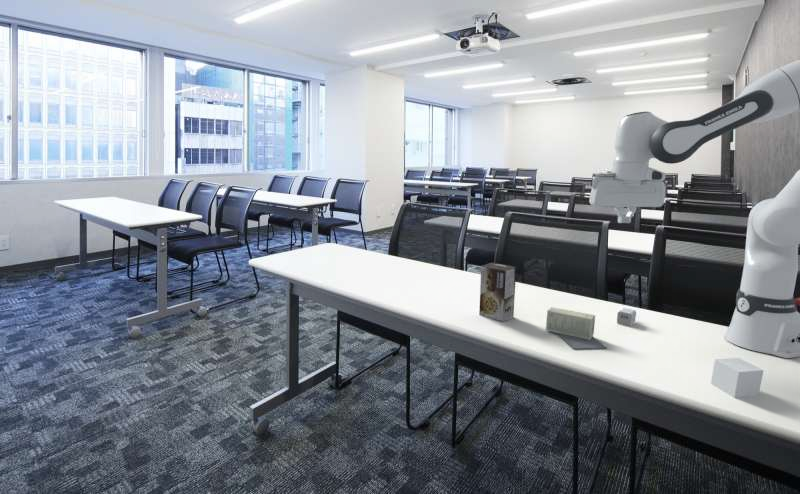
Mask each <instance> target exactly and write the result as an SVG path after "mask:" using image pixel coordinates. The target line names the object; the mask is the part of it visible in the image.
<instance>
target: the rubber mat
mask: <svg viewBox="0 0 800 494" xmlns="http://www.w3.org/2000/svg"><path fill="white" fill-rule="evenodd" d="M555 334H556V335H558V337H560V338H561V340H563V342H565V343H566V344H567V345H568V346H569V347H570V348H571V349H572V350H576V351H577V350H578V351H579V350H606V349H608V347H607V346H606V345H604V344H603V343H602V342H601V341H600V340H598V339H597V338H595V337H594V336H593V337H592V338H591V339H590V340H587V339H583V338H578V337H573V336H569V335H564V334H559V333H555Z"/></svg>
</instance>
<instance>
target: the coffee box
mask: <svg viewBox="0 0 800 494" xmlns="http://www.w3.org/2000/svg"><path fill="white" fill-rule="evenodd" d="M516 278H517V266H512V265H508V264H501V263H496V262H490V263H486V264H483V265H481V266H480V284H479V285H480V288H479V289H480V290H479V311H478V313H479V314H478V315H480V316H483V317H486V318H490V319H493V320H498V321H501V322H505V321H508V320H510V319H512V318H514V313H515V312H514V311H515V297H516V296H515V294H516Z"/></svg>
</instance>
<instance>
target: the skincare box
mask: <svg viewBox="0 0 800 494" xmlns="http://www.w3.org/2000/svg"><path fill="white" fill-rule="evenodd" d="M546 313H547V315H546V323H545V324H546V325H545V332H551V333H555V334H556V333H559V334H564V335H569V336H573V337H578V338H583V339H587V340H590V339H591V338H592V337H594V334H595V326H596V325H595V324H596V315H595V314H590V313H585V312H580V311H574V310H569V309H564V308H560V307H559V308H558V307H553V306H552V307H550V308H548V310H547V312H546Z"/></svg>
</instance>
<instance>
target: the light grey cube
mask: <svg viewBox="0 0 800 494" xmlns="http://www.w3.org/2000/svg"><path fill="white" fill-rule="evenodd" d="M763 375H764V369H762V368H760V367H757V366H756V365H753V364H752V363H749V362H748V361H746V360H743V359H742V358H739V357H733V358H732V357H730V358H729V357H728V358H717V359H714V364H713V368H712V375H711V382H710V384H711V385H712V386H713V387H714V388H715V387H716V388H717V389H719V390H720V391H722V392H723V393H725V394H727V395H729V396H731V397H732V398H734V399H735V398H747V397H748V398H749V397H758V396H760V391H761V390H760V389H761V385H762V381H763V380H762V379H763Z"/></svg>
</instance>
